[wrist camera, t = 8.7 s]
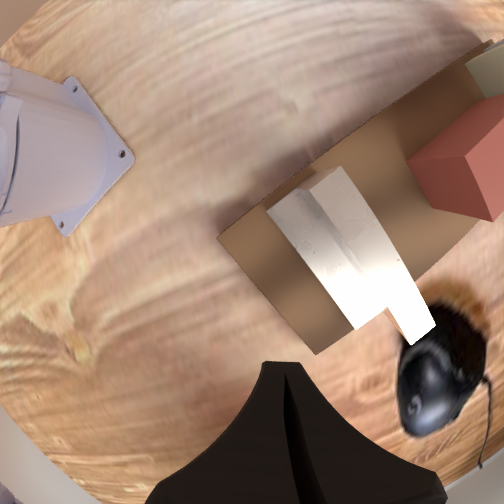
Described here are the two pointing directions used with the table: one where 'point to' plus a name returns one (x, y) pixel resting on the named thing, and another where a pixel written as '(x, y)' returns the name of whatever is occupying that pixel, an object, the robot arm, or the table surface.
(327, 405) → the robot arm
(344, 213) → the bookend
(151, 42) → the table surface
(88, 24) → the table surface
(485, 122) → the red block
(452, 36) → the table surface
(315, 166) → the shelf board
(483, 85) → the book row
